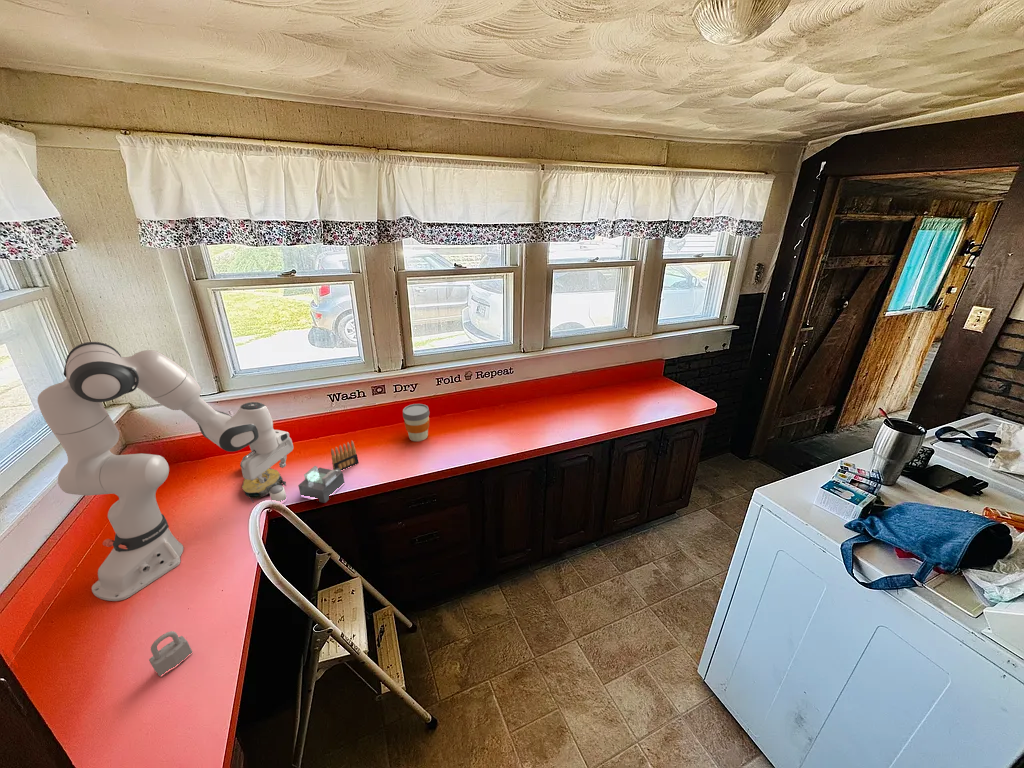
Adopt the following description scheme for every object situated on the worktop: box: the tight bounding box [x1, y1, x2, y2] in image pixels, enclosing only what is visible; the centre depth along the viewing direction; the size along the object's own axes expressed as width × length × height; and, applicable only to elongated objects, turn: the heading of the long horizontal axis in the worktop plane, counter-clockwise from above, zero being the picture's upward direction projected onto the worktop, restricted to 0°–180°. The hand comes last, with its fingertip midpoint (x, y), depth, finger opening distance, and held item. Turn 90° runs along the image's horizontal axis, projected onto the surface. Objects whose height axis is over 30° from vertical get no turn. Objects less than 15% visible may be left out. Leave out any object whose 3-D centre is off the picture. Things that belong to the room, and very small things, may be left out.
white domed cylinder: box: [269, 485, 287, 502], centre depth 158 cm, size 5×5×6 cm
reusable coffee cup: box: [402, 403, 431, 442], centre depth 200 cm, size 13×13×15 cm
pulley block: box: [239, 461, 287, 504], centre depth 169 cm, size 14×6×30 cm
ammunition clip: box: [330, 440, 360, 471], centre depth 177 cm, size 11×2×12 cm, turn 137°
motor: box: [298, 465, 346, 504], centre depth 165 cm, size 16×11×9 cm
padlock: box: [148, 630, 193, 677], centre depth 102 cm, size 7×4×10 cm, turn 149°
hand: (273, 474), depth 154 cm, fingers open, 8 cm apart
